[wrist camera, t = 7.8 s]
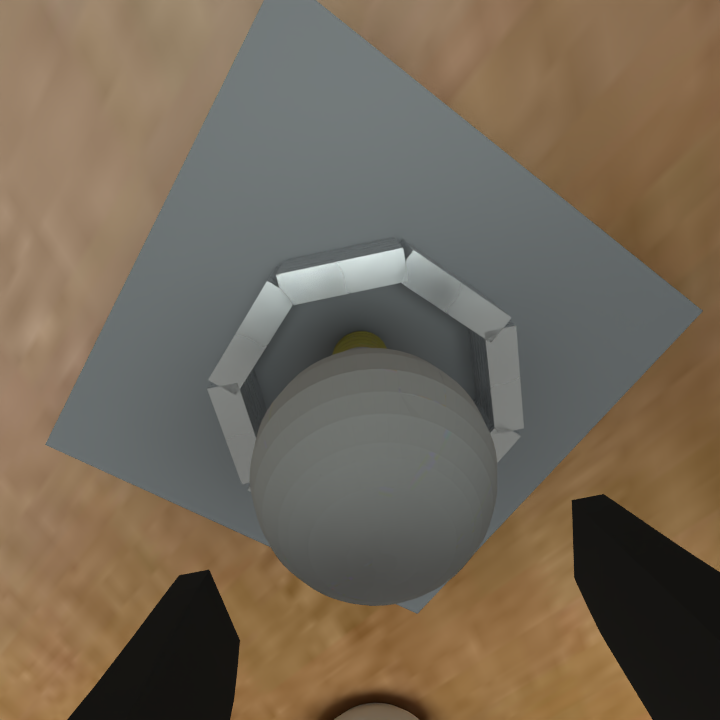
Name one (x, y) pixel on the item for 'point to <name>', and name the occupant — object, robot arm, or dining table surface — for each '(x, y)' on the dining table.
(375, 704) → the teacup
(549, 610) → the dining table surface
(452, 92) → the dining table surface
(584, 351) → the holder
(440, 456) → the light bulb
